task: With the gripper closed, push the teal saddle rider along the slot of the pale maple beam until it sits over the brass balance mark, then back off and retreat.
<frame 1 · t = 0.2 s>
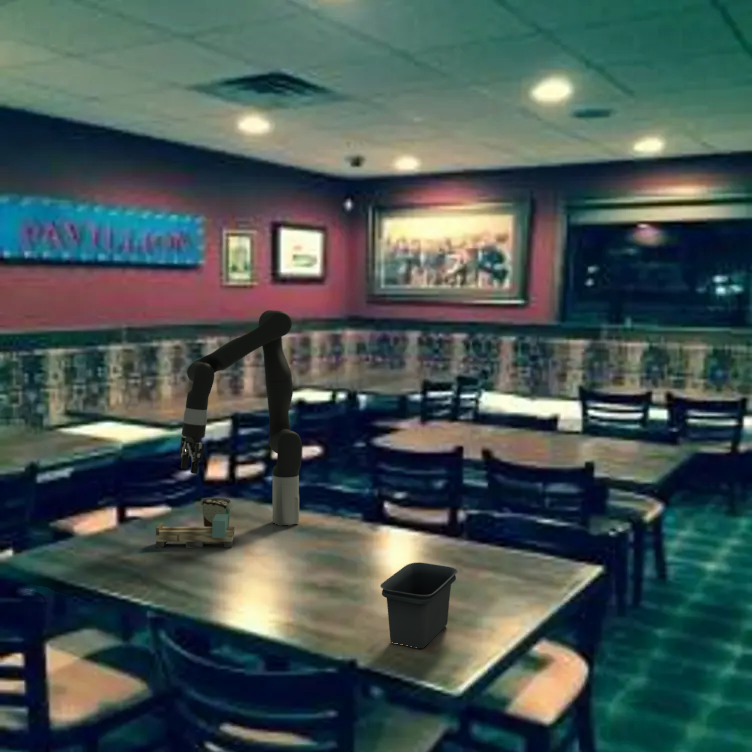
hand: (188, 471, 280), 22 cm above the table, tool pointing down, fingers open, 8 cm apart
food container: (220, 528, 294), on the table
beam: (195, 544, 274), on the table
rider: (220, 525, 273), point 6 cm above the table, slide at 0.0 cm
storage bin: (415, 635, 204), on the table
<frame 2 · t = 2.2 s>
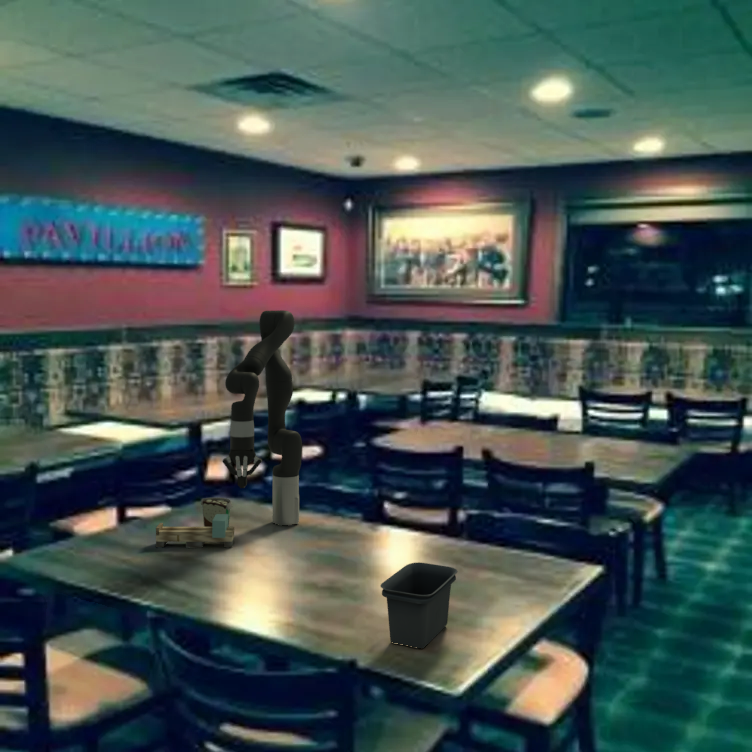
hand: (242, 487, 272), 19 cm above the table, tool pointing down, fingers closed
nothing on the table moved.
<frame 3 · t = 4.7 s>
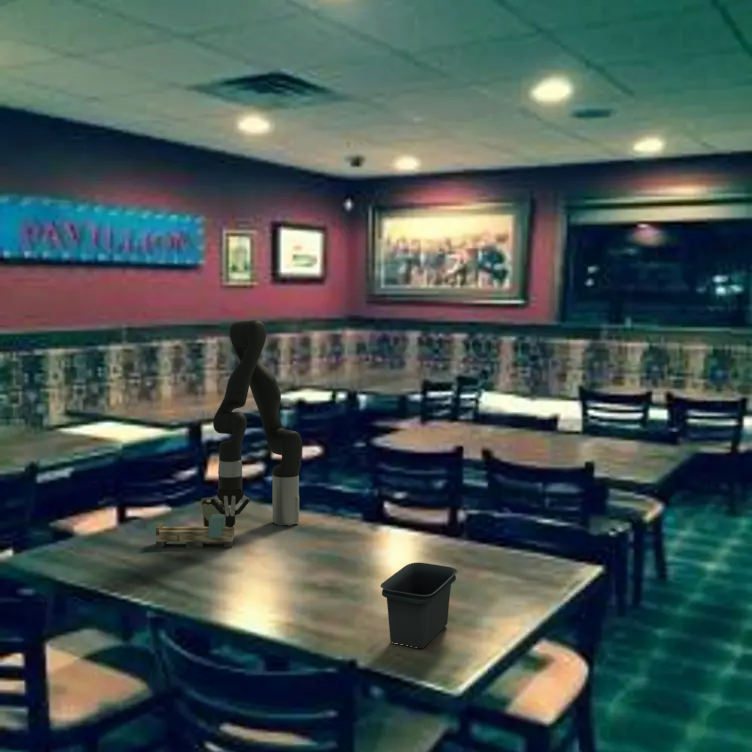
hand: (230, 526, 273), 6 cm above the table, tool pointing down, fingers closed
rider: (217, 525, 273), point 6 cm above the table, slide at 1.1 cm, touching gripper
everything else where it was.
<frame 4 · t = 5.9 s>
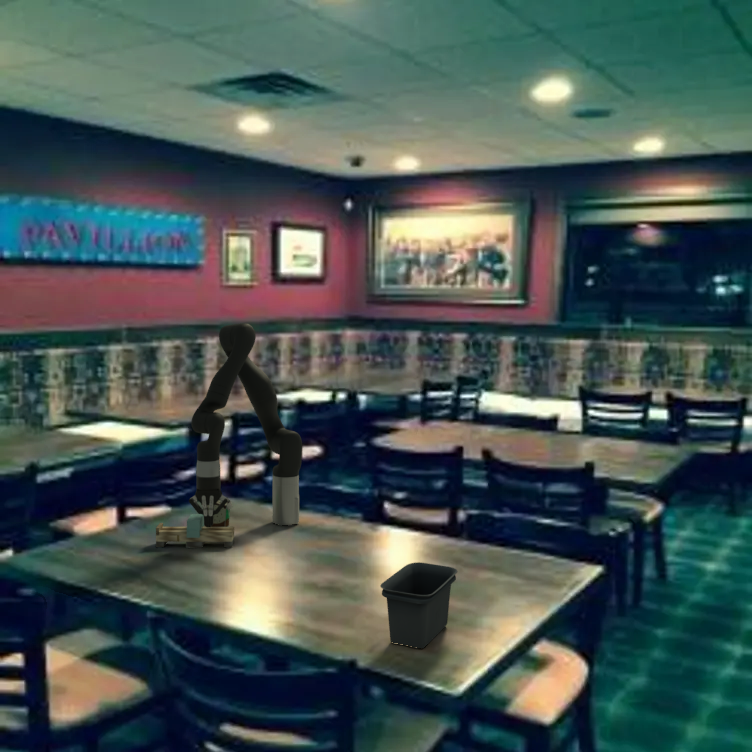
hand: (208, 526, 273), 6 cm above the table, tool pointing down, fingers closed
rider: (195, 525, 273), point 6 cm above the table, slide at 8.1 cm, touching gripper
everything else where it was.
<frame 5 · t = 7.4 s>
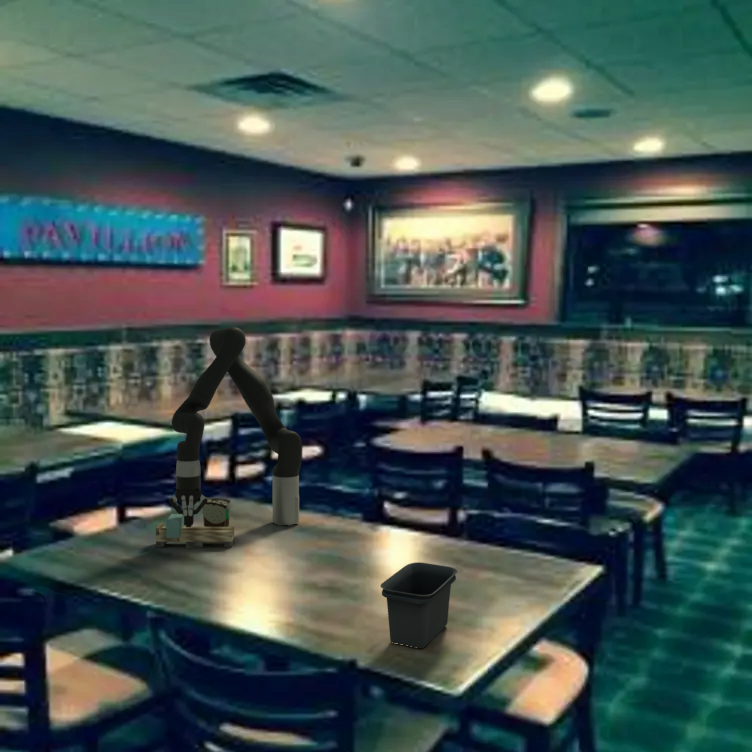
hand: (188, 526, 273), 6 cm above the table, tool pointing down, fingers closed
rider: (175, 525, 273), point 6 cm above the table, slide at 14.5 cm, touching gripper
everything else where it was.
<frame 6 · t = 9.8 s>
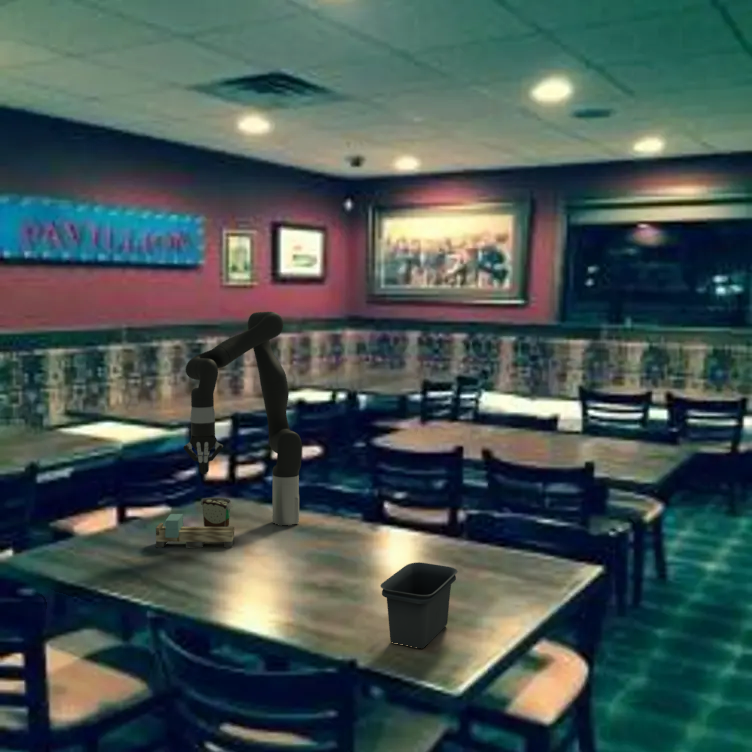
hand: (204, 473, 273), 23 cm above the table, tool pointing down, fingers closed
rider: (174, 525, 273), point 6 cm above the table, slide at 14.8 cm
everything else where it was.
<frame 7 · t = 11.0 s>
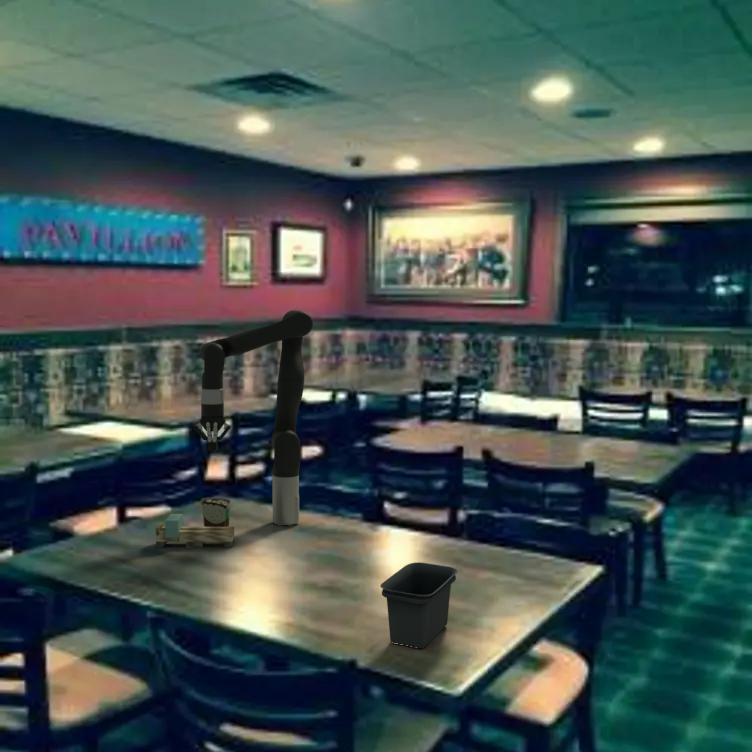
hand: (212, 452, 288), 27 cm above the table, tool pointing down, fingers closed
nothing on the table moved.
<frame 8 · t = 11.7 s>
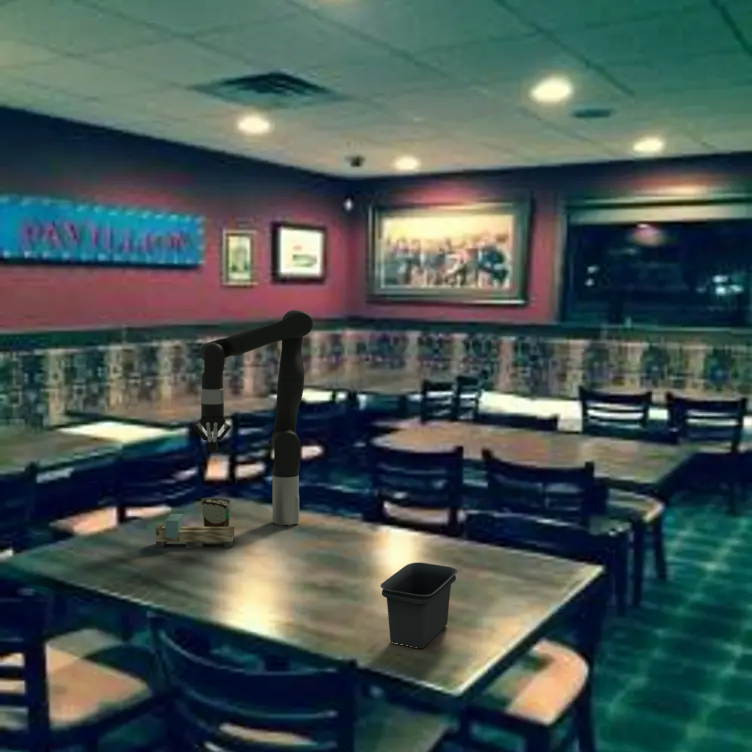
hand: (212, 452, 288), 27 cm above the table, tool pointing down, fingers closed
nothing on the table moved.
at the end: rider slide at 14.8 cm; rider touching nothing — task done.
